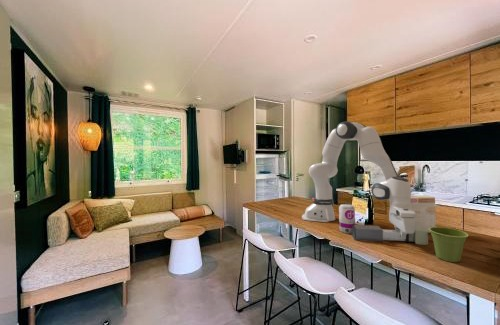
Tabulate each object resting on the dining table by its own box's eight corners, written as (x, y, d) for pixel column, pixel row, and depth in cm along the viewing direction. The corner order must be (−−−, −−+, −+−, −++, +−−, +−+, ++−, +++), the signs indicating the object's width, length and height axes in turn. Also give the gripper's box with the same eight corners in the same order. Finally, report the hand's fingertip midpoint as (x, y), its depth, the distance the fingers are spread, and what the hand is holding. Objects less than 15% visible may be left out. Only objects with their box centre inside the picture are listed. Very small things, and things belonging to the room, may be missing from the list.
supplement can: (358, 233, 118) (357, 206, 118) (343, 234, 118) (342, 207, 118) (350, 228, 126) (350, 203, 126) (337, 229, 126) (336, 204, 126)
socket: (416, 244, 102) (415, 230, 102) (408, 238, 109) (408, 225, 109) (428, 244, 101) (427, 231, 101) (419, 238, 108) (419, 226, 108)
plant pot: (443, 265, 82) (442, 236, 82) (422, 251, 94) (422, 226, 94) (477, 266, 80) (477, 236, 80) (452, 252, 92) (452, 226, 92)
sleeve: (354, 240, 109) (354, 228, 109) (351, 235, 115) (351, 224, 115) (383, 241, 106) (382, 229, 106) (378, 236, 112) (378, 225, 112)
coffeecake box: (426, 228, 123) (426, 195, 122) (436, 233, 115) (435, 197, 115) (399, 228, 124) (398, 195, 124) (407, 232, 117) (406, 197, 117)
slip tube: (369, 239, 108) (368, 230, 108) (365, 235, 113) (365, 227, 113) (416, 242, 103) (416, 233, 103) (411, 238, 108) (411, 229, 108)
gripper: (385, 204, 117) (385, 229, 118) (402, 214, 98) (402, 244, 98) (398, 204, 116) (398, 230, 116) (418, 214, 96) (418, 245, 96)
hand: (400, 236), depth 107 cm, fingers closed on slip tube, 4 cm apart
